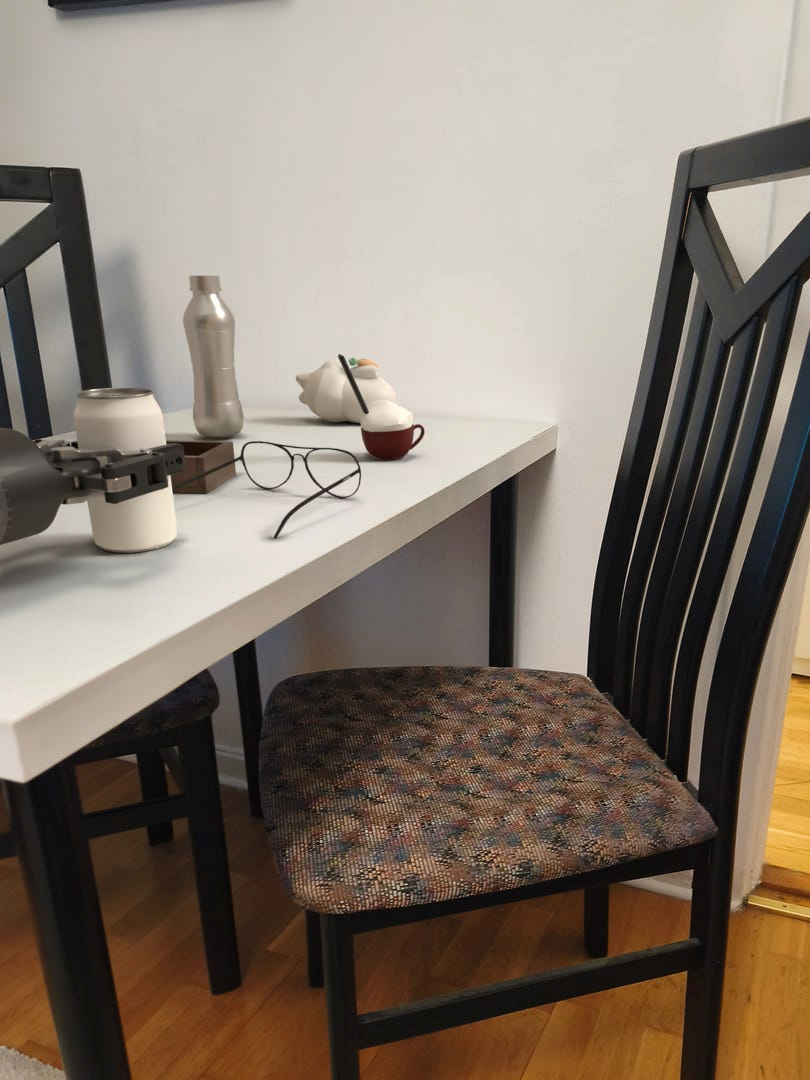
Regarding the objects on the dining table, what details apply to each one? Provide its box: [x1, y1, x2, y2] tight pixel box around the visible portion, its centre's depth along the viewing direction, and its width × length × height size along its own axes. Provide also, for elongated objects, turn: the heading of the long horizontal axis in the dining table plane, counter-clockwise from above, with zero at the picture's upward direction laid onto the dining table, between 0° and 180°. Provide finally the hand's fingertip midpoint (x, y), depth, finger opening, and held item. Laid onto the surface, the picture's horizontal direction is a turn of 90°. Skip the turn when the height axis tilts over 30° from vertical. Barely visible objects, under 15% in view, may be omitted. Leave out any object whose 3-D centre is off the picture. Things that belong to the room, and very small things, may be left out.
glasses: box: [172, 440, 362, 539], centre depth 83 cm, size 14×15×5 cm
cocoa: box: [337, 353, 425, 461], centre depth 105 cm, size 10×6×12 cm, turn 88°
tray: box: [166, 439, 237, 494], centre depth 93 cm, size 9×9×4 cm
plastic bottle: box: [182, 275, 245, 439], centre depth 115 cm, size 6×7×20 cm
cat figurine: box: [295, 357, 398, 424], centre depth 130 cm, size 10×8×15 cm
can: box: [73, 387, 178, 554], centre depth 71 cm, size 6×6×12 cm
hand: (145, 452), depth 72 cm, fingers open, 7 cm apart
